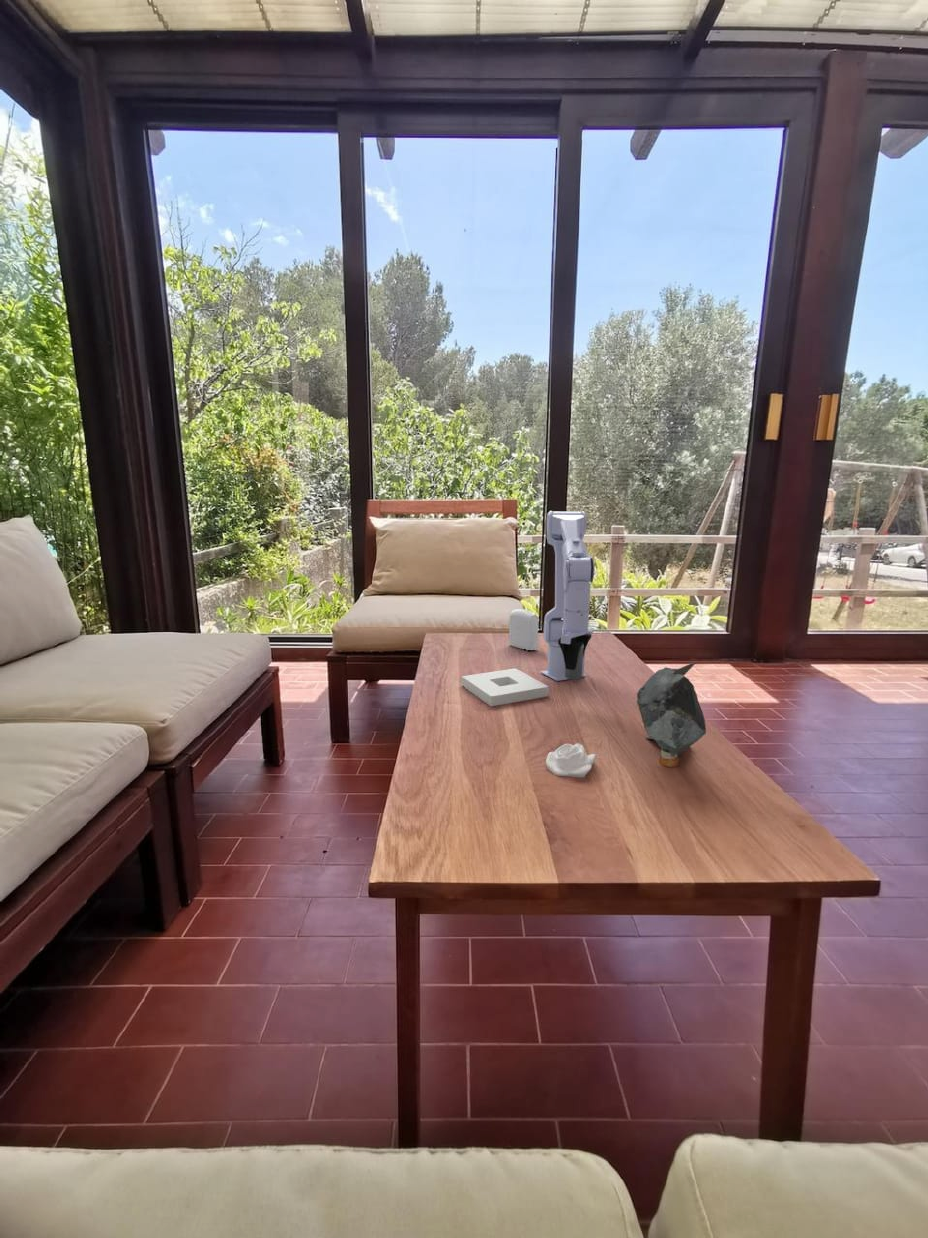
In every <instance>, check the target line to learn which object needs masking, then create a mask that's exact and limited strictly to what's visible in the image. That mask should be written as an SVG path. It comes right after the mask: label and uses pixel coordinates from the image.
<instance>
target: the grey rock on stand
mask: <svg viewBox="0 0 928 1238" xmlns="http://www.w3.org/2000/svg"><path fill="white" fill-rule="evenodd" d="M696 663H698V660H696V661H693V662H691V663H689V664H685V665H684V666H682V667H679V668H670V667H665V666H664V668H661V669H658V670H656V672H654V673H653V674H652V675H651V676H650V677H649V678H648V679H647V680H646V682H645V683H644V684H643V685H642V686H641V687H640V688H639V689H638V691H637V693H636V695H637V696H636V697H637V700H636V703H637V706H638V709H639V713H640V717H641V721H642V723H643V727H644V729H645V732H646V734H647V737H646V739H647V740H650V741H654V742H655V743H656V744H657V745H658V747H659V748H661V749H660V751H661V752H660V754H659V763H660V764H661V765H662V766H664V767H668V768H677V767H678V766H680V765H679V764H680V761H679V758H680V757H679V756H680V755H682V754H683V752H685V751H686V750H687V749H689V748H690V747H691V746H692V745H694V744H695V743H696V742H698V741H699V740H700V739H701V738H702V737H704V736H705V735H706V733H707V728H706V720H705V716H704V712H703V710H702V707H701V705H700V702H699V700H698V694H697V693H696V690H695V686H694V684H693V683H692V682H691V680H690V679H689V678H687V676H685V675H686V674H687V673H688V672H689V671H690V670H691V669H692V668H693V667H694V665H696Z"/></svg>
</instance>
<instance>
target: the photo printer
mask: <svg viewBox="0 0 928 1238" xmlns="http://www.w3.org/2000/svg"><path fill="white" fill-rule="evenodd" d="M508 631H509V632H508V636H509V638H508V640H509V641H508V643H509V646H510V647H511V646H512V647H514V648H518V649H521V650H524V649H526V650H525V651H528V650H535V651H537V650H538V645H539V640H538V638H539V617H538V615H537V614H536V613H534V612H533V611H530V610H529V609H525V608H517V609H513V610H511V612H510V614H509V628H508Z"/></svg>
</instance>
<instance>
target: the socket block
mask: <svg viewBox="0 0 928 1238" xmlns="http://www.w3.org/2000/svg"><path fill="white" fill-rule="evenodd" d="M461 686H462V687H463V686H464V687H465V688H464V687H463V688H464V689H465V690H467V689H468V690H467V691H468V692H470V693H471V694H473V695H474V696H475V697H477V698H478V699H480V700H481V701H482V702H484V703H486V705H488V706H490V707H495V706H500V705H501V706H502V705H507V704H512V703H519V702H524V701H529V700H535V699H540V698H546V697H549V690H550V689H549V686H548V685H547V684H544V683H543V682H541V681H539V680H538V679H536V678H534V677H531V676H530V675H528V674H526V673H525V672H524V671H521V670H519V669H517V668H509V669H502V670H495V671H489V672H482V673H475V674H470V675H469V674H468V675H462V676H461Z"/></svg>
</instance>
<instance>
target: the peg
mask: <svg viewBox="0 0 928 1238" xmlns="http://www.w3.org/2000/svg"><path fill="white" fill-rule="evenodd" d="M583 648H584V644H583V645H582V647H581V649H580V652H579V655H578V660H577V665H576V668H575V670H570V669H566V667H565V677H566V678H569V679H568V680H579V679H581V678H583V677H582V665H583Z"/></svg>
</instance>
